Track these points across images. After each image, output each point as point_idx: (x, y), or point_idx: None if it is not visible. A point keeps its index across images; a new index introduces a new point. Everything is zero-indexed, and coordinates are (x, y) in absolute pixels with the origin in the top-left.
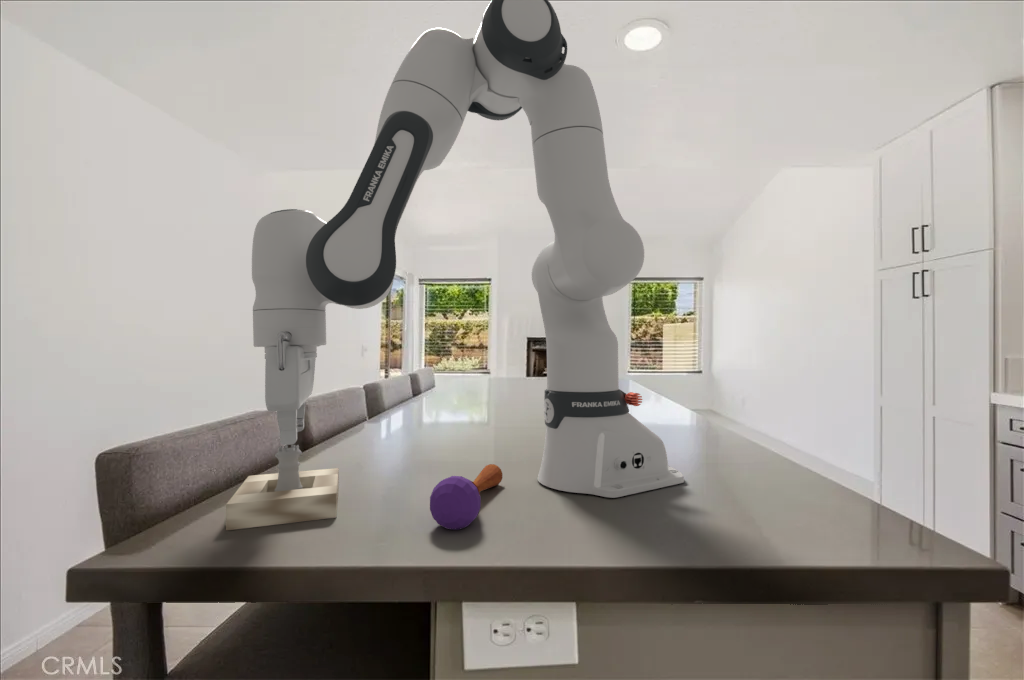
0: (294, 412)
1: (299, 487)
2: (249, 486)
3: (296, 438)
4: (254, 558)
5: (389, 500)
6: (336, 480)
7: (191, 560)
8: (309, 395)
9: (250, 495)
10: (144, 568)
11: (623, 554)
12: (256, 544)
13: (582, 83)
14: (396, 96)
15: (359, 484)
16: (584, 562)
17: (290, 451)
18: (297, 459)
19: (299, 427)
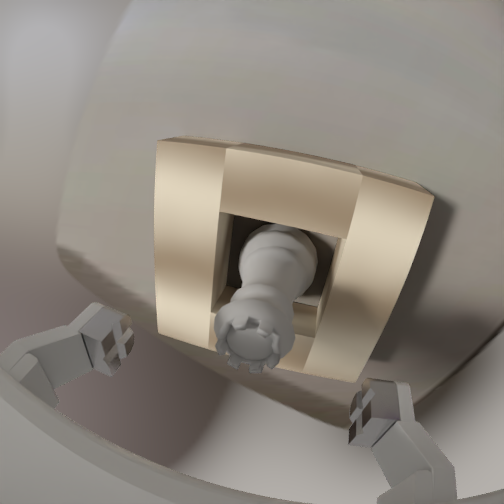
0: (452, 485)
1: (290, 257)
2: None
3: (402, 390)
4: (484, 321)
5: (356, 40)
6: (306, 165)
7: (432, 376)
8: (5, 380)
9: (323, 352)
10: (415, 404)
11: None
12: (444, 319)
13: None
14: None
15: (174, 84)
16: None
17: (284, 343)
18: (269, 302)
19: (121, 329)
